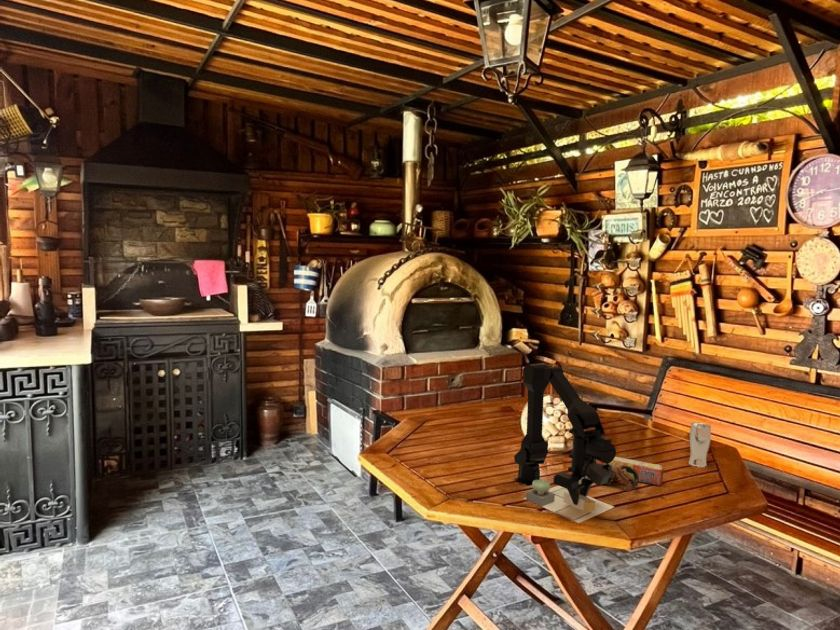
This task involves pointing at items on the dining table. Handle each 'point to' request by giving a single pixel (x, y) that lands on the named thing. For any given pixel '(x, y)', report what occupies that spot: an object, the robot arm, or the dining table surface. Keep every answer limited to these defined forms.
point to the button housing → (540, 497)
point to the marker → (580, 502)
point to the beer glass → (699, 443)
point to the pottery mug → (624, 477)
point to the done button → (540, 486)
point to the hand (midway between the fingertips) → (578, 503)
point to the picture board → (572, 511)
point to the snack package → (639, 470)
